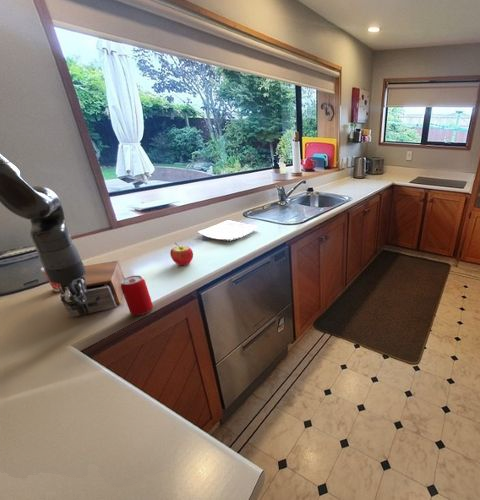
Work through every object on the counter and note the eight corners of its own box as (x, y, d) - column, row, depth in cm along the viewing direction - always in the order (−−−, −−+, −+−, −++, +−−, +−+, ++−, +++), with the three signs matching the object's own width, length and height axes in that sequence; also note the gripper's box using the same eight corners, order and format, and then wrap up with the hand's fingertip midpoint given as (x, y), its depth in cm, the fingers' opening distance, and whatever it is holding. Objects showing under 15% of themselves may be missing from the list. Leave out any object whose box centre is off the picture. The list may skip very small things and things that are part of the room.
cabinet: (120, 304, 95) (111, 280, 91) (71, 315, 89) (59, 289, 85) (126, 282, 107) (118, 260, 103) (83, 290, 101) (73, 267, 97)
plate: (228, 223, 170) (227, 219, 169) (261, 229, 163) (261, 225, 161) (194, 236, 149) (193, 232, 148) (231, 245, 142) (230, 240, 141)
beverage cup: (55, 285, 104) (39, 251, 98) (76, 282, 106) (62, 249, 100) (47, 294, 99) (30, 258, 93) (70, 290, 101) (54, 256, 95)
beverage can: (148, 302, 96) (139, 272, 91) (156, 309, 93) (147, 278, 88) (127, 311, 92) (115, 280, 87) (135, 319, 89) (123, 287, 84)
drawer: (113, 314, 89) (105, 294, 86) (65, 325, 84) (55, 303, 80) (122, 286, 103) (115, 267, 100) (81, 293, 98) (73, 274, 95)
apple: (176, 259, 125) (171, 239, 121) (197, 258, 127) (192, 238, 123) (170, 268, 118) (164, 247, 114) (192, 267, 120) (187, 245, 116)
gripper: (52, 254, 80) (74, 304, 87) (33, 275, 69) (61, 330, 77) (86, 250, 83) (105, 298, 90) (73, 269, 73) (96, 322, 80)
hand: (85, 313), depth 83 cm, fingers closed
